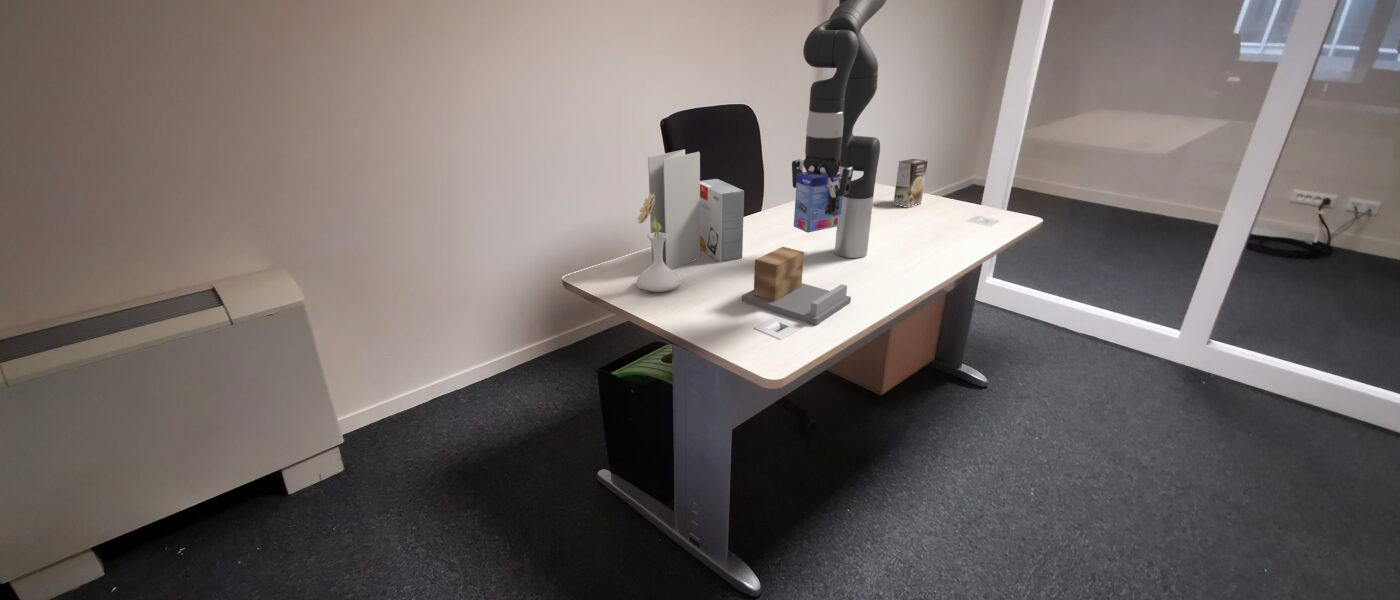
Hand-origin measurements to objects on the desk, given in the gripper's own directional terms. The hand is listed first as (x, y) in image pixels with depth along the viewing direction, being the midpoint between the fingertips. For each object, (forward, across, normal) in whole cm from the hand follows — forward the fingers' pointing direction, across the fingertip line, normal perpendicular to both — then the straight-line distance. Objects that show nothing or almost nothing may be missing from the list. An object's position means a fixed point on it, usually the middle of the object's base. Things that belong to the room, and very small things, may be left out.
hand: (818, 210), depth 138 cm
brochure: (+24, +44, -2) cm, 50 cm away
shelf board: (+23, +4, 0) cm, 24 cm away
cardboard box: (+22, +9, 0) cm, 24 cm away
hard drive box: (+24, +40, -16) cm, 49 cm away
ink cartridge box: (+4, 0, 0) cm, 4 cm away
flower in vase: (+24, +35, +15) cm, 45 cm away
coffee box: (+24, +19, -102) cm, 106 cm away
